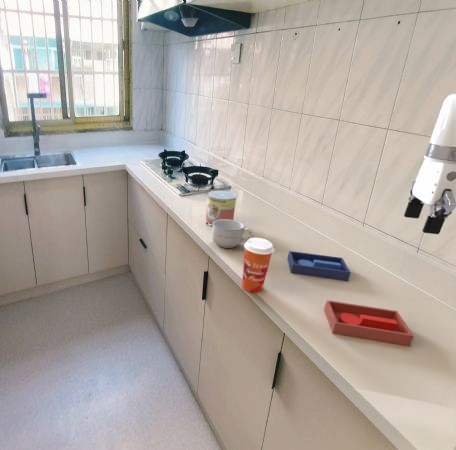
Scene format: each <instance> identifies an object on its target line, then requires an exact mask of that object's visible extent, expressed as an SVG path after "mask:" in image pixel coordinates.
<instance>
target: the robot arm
mask: <svg viewBox="0 0 456 450" xmlns="http://www.w3.org/2000/svg"><path fill="white" fill-rule="evenodd" d="M424 153H425V154H424V156H423V157H424V160H423V162H422V164H421V167H420V168H419V171H418V173H417V176H416V179H415V180H414V181H412V183H411V189H410V192H409V193H410V196H409V197H408V203H407V205H406V208H405V211H404V214H403V217H404V218H409V219H419V218H420V216H421V214H422V210H423V208H424V206H425V205H427V206H429V209H430V210H429V211H430V215H427V218H426V219H425V223H424V225H423V228H422V230H421V231H422V232H423V233H424V234H430V235H440V233H441V230H442V228H443V225H444V224H445V221H446V220H447V219H448V218H449V216H451V214H452V213H453V211H454V210H455V209H456V93H452V94H451V93H450V94H449V95H448V96H446V98H444V101H443V103H442V106H441V109H440V111H439V115H438V117H437V119H436V122H435V125H434V128H433V131H432V134H431V137H430V139H429V143H428V144H427V148H426V151H425V152H424ZM437 209H438V210H437Z"/></svg>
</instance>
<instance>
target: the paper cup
mask: <svg viewBox="0 0 456 450" xmlns="http://www.w3.org/2000/svg"><path fill="white" fill-rule="evenodd" d="M243 246H244V257H243V266H242V267H243V268H242V282H241V287H242V289H243V290H245V291H246V292H248V293H253V294H258V293H260V292H262V291H263V288H264V285H265V280H266V277H267V274H268V269H269V266H270V261H271V258H272V255H273V253H274V252H275V248H274V247H275V246H274V245H273V243H272V242H271V241H270V240H268V239H265V238H261V237H251V238H250V239H248V240H246V241H245V242H244V245H243Z"/></svg>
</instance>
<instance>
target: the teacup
mask: <svg viewBox="0 0 456 450" xmlns="http://www.w3.org/2000/svg"><path fill="white" fill-rule="evenodd" d="M245 232H249V235H248V236H247V237H243V235H244V234H245ZM253 235H254V232H253V230H252V229H251V228H250V227H245V225H244V224H243V223H242V222H240V221H237V220H234V219H233V220H228V219H220V220H216V221H214V222H213V227H212V229H211V238H212V241H213V242H214V243H215V244H216V245H217V246H218V247H221V248H225V249H232V248H235V247H237V246H238V245H239V244H243V242H247V241H248V239H250V238H253Z"/></svg>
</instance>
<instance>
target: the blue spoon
mask: <svg viewBox="0 0 456 450" xmlns="http://www.w3.org/2000/svg"><path fill="white" fill-rule="evenodd" d="M298 264H299V265H306V266H313V267H321V268H328V269H335V270H340V268H341V264H340V263H335V262H328V261H320V260H314V261H313V263H312V262H311V261H308V260H299V261H298Z"/></svg>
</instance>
